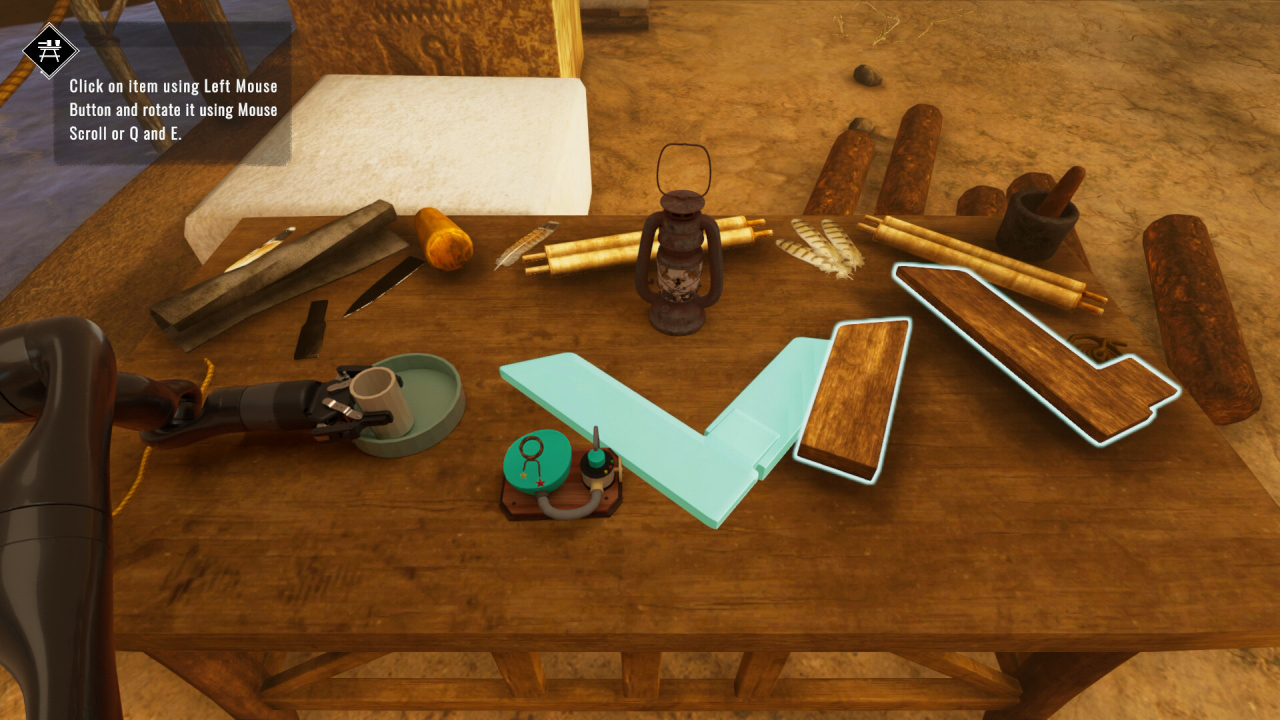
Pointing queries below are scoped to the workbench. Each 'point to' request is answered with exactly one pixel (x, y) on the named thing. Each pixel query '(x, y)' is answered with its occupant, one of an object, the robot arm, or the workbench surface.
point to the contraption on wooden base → (559, 479)
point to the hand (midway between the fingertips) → (396, 398)
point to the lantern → (679, 260)
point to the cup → (382, 400)
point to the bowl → (420, 405)
